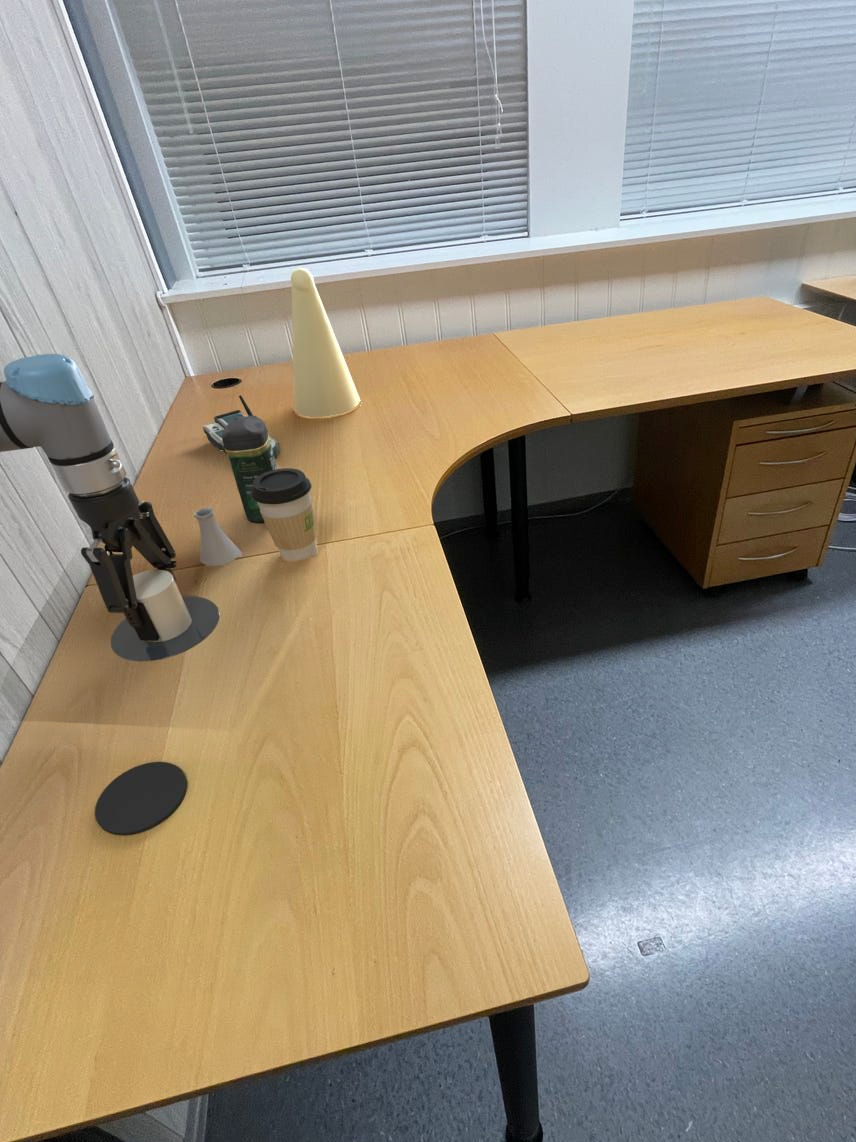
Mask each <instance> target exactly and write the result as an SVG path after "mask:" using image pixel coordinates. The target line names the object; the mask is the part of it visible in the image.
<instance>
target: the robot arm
mask: <svg viewBox="0 0 856 1142" xmlns="http://www.w3.org/2000/svg"><path fill="white" fill-rule="evenodd" d="M3 375H4V378H5V381H0V453H5V452H11V451H18V450H27V449H34V448H36V447H37V448H38V447H41V449H42V451H43V452H44V454H45V455H46V457H47V459H48V461H49V463H50V466H51V467H52V470H53V471H54V474H55V476H56V477H57V480H58V481H59V484H60V485H61V486H62V489H63V490H64V491H65V493H68V495H67V497H68V500H69V501H70V503H71V505H72V507H73V510H74V511H75V513H76V515H77V517H78V519H79V520H81V521H82V522H83V523H85V524H86V525H88V526H89V528H90V530H91V534H92V535H91V536H92V539H93V541H92V542H91V544H90V546H89V547H88V546H87V547H85V546H84V547H81V548H80V555H81V556H82V557H83V559H84V560H85V561H86V562H87V564H88V565H89V568H90V570H91V572H92V575H93V577H94V580H95V583H96V585H97V588H98V590H99V593H100V595H101V598H102V600H103V603H104V605H105V608H106V610H107V612H108V613H110V614H113V613H114V614H123V615H124V617H125V618H126V619H127V621H128V623H129V624H130V626H131V627H134V629H135V631H136V633H137V635H138V637H139V638H140V640H143V641H158V640H159V638H160V637H159V635H158V633H157V631H156V629H155V627H154V625H153V623H152V621H151V619H150V617H149V615H148V613H147V611H146V609H145V607H144V605H143V603H138V602H137V597H136V591H135V586H134V580H133V576H134V574H133V570H132V564H131V560H133V552H132V548H134V549H135V550H136V551H137V552H138V553H139V554H140V555H141V556H142V557H143V558H144V559H145V560H146V561H147V562H148V563H149V564H150V565H151V566H152V567H153V569H156V570H165V571H168V572H170V573H171V574H172V575H173V578H174V580H175V582H176V584H177V587H178V589H179V591H180V593H181V596H183V595H182V592H181V590H180V588H179V586H178V582H177V578H176V575H175V573H174V571H173V570H172V569H176V568H177V561H176V560H173V559H175V558H176V556H177V552H176V550H175V548H174V547H173V545H172V543H171V542H170V540H169V537H167V534H166V532H165V531H164V529H163V528H162V526H161V524H160V522H159V520H158V519H157V517H156V514H155V511H154V509H153V504H152V503H151V502H150V501H140V500H139V497H138V495H137V493H136V491H135V488H134V486H133V484H132V482H131V480H130V479H129V478H128V477H127V472H126V469H125V467H124V465H123V463H122V461H121V459H120V456H119V454H118V452H117V450H116V448H115V444H114V442H113V440H112V438H111V436H110V433H109V431H108V429H107V426H106V423H105V421H104V419H103V417H102V415H101V413H100V409H99V407H98V405H97V403H96V401H95V398H94V397H95V396H94V394H93V391H92V390H91V389H90V387H89V386H88V383H87V381H86V379H85V378H84V375H83V374H82V372H81V370H80V368H79V366H78V364H77V363H76V361H75V360H73V359H72V358H71V357H69V356H67V355H64V354H61V353H43V354H35V355H33V356H26V357H25V356H24V357H22V358H18V359H15V360H13V361H11V362H9V363H7V364H5V366H4V368H3ZM182 598H183V597H182ZM126 599H127V600H126ZM183 600H184V599H183ZM184 602H185V601H184Z"/></svg>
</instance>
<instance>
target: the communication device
mask: <svg viewBox="0 0 856 1142" xmlns="http://www.w3.org/2000/svg"><path fill="white" fill-rule="evenodd" d="M238 398H239V400H240V402H241V404H242V406H243V408H244V410H245V412H246V414H247V416H254V414H253V413H252V410H251V409H250V407H249V406H248V404H247V403H246V401H245V399H244V397H243V396H242V395H241V394H240V395H238ZM243 416H246V415H245V414H244V413H243V412H242V411H241V410H240V409H236V410H233V411H229V412H225V413H222V414H218V415H215V416H214V417H213V420H214V422H212V423H208V424H206V425H202V429H203V433H204V434H205V435H206V438H207V441H209V443H211V444H212V445H213V446H214V447H215V448H216V449H217V450H219V451H220V450H224V451H225V448H224V445H223V441H222V433H223V431H224V429H225V427H226V426H227V425H228V424H229V423H230V422H231V421H232V420H234V418H235V417H243ZM269 438H270V442H271V447H272V450H273V455H274V458H276V459H277V457H278V456H279V454H280V448H279V442H278V441H277V440H276V439H275V438H273V437H271V436H269Z"/></svg>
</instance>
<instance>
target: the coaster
mask: <svg viewBox="0 0 856 1142" xmlns="http://www.w3.org/2000/svg"><path fill="white" fill-rule="evenodd" d="M187 788H188V780H187V777H186V774H185V773H184V771H183V770H182V769H181V768H180V767H179V766H177V765H176V764H174V763H171V762H167V761H151V762H146V763H142V764H139V765H137V766H133V767H131V768H130V769H127V770H126V771H124V772H122V773H121V774H119V775H118V776H117V777H115V778H114V779H113V780H111V782H110V783H108V785H107V786H105V788H104V790H103V791H102V792H101V793H100V795H99V797H98V799H97V801H96V804H95V806H94V818H95V821H96V823H97V824H98V826H99V827H100V828H101V829H102V830H103V831H104V832H106V833H108V834H111V835H115V836H133V835H137V834H140V833H143V832H146V831H148V830H151V829H153V828H155V827H156V826H158V825H160V824H162V823H164V821H165V820H167V819H168V818H169V817H171V816H172V815H173V814H174V813H175V811H177V809H178V808H179V807H180V805H181V804H182V802H183V800H184V798H185V796H186V793H187Z"/></svg>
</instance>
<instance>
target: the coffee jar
mask: <svg viewBox="0 0 856 1142" xmlns="http://www.w3.org/2000/svg"><path fill="white" fill-rule="evenodd" d="M269 437H270V434H269V432H268V428H267V424H266V422H265V421H264V419H262V418H260V417H258V416H256V415H253V416H248V415H245V416H243V417H235V418H234V420H232V421H231V422H230V423H229V424H228V425H227V426H226V427H225V429H224V431H223V433H222V441H223V445H224V448H225V450H224V451H225V453H226V456H227V459H228V461H229V464H230V465H229V466H230V467H231V470H232V473H233V476H234V480H235V481H234V482H235V484H236V487H237V490H238V494H239V497H240V501H241V505H242V508H243V511H244V515H245V518H246V519H247V520H248V521H249V522H254V523H261V524H262V523H263V524H264V523H265V522H264V519H263V517H262V515H261V513H260V508H259V506H258V503H257V502H256V501H255V500H254V499H253V498H252V493H251V491H252V488H253V481H254V480H255V478H257V477H258V476H259V475H261V474H263V473H265V472H268V471H271V470H276V469H278V466H277V462H276V459H275V458H274V455H273V450H272V447H271V442H270V438H269Z"/></svg>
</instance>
